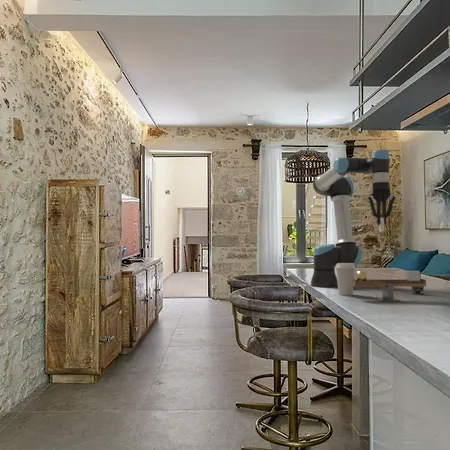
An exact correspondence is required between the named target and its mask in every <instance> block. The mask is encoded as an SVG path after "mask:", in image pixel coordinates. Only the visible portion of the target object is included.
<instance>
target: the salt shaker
mask: <svg viewBox="0 0 450 450" xmlns="http://www.w3.org/2000/svg"><path fill="white" fill-rule="evenodd" d="M416 271H419V269H416ZM421 275H422V273H421V272H420V278H421V277H422V276H421ZM421 279H422V278H421ZM410 287H411V290H412V291H413V292H412V293H411V295H417V296H423V294H424V293H423V291H424V290H425V289H424V288H425V286H410Z"/></svg>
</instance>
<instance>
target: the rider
mask: <svg viewBox="0 0 450 450" xmlns="http://www.w3.org/2000/svg"><path fill="white" fill-rule="evenodd" d="M420 273H421V271H420V270H418V271H417V270H404V280H405V281H420Z"/></svg>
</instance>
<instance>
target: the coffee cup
mask: <svg viewBox="0 0 450 450" xmlns="http://www.w3.org/2000/svg"><path fill="white" fill-rule="evenodd" d="M355 269H357V266H354V264H353V263H337V265H336V266H335V273H336V277H337V282H338V286H337V290H338V296H346V297H347V296H353V295H354V286H353V285H351V278H353V279H355Z"/></svg>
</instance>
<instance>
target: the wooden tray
mask: <svg viewBox="0 0 450 450" xmlns="http://www.w3.org/2000/svg"><path fill="white" fill-rule="evenodd" d="M388 283H394V287H411V286H423V287H427V279H424V278H420V281H405V279H367V281H357V279H355V278H354V279H353V278H351V285H353V287H382V286H388Z"/></svg>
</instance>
